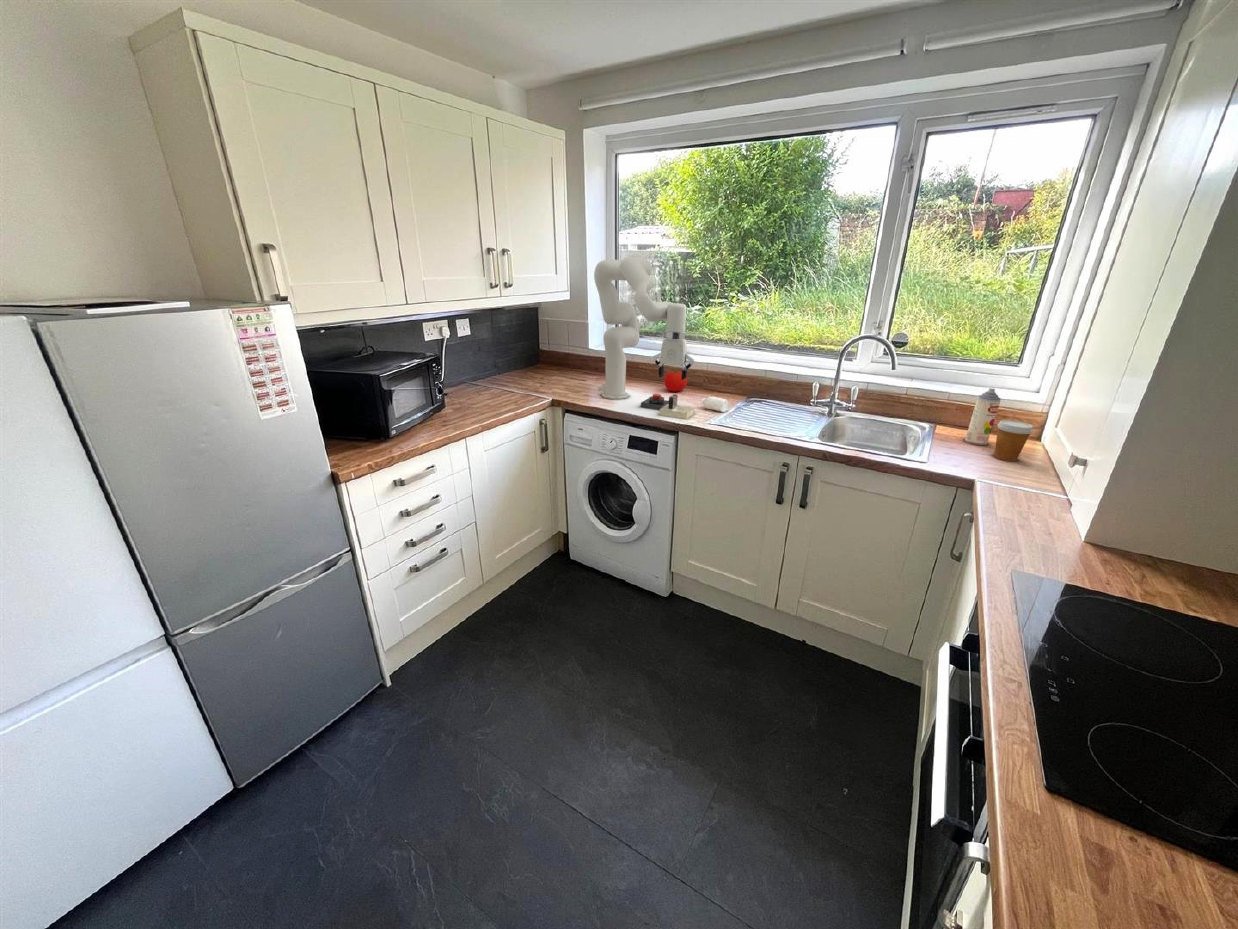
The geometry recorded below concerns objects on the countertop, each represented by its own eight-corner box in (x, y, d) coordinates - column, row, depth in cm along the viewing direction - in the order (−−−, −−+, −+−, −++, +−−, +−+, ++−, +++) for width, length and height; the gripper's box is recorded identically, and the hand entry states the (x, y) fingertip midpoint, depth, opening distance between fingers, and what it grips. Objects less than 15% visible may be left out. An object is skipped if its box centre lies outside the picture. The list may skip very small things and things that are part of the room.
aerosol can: (979, 446, 178) (996, 391, 171) (960, 440, 184) (976, 387, 177) (991, 444, 181) (1008, 390, 174) (972, 438, 187) (987, 385, 179)
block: (640, 407, 218) (641, 398, 216) (648, 402, 225) (648, 394, 224) (664, 410, 214) (664, 401, 212) (671, 405, 221) (672, 397, 220)
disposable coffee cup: (1024, 465, 161) (1036, 429, 157) (988, 459, 166) (999, 424, 162) (1020, 456, 169) (1032, 422, 165) (987, 451, 174) (997, 418, 169)
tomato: (670, 387, 256) (671, 367, 252) (690, 390, 250) (692, 370, 246) (658, 391, 247) (659, 370, 243) (678, 394, 241) (680, 373, 237)
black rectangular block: (672, 409, 206) (673, 396, 204) (668, 408, 207) (669, 396, 205) (677, 406, 211) (677, 394, 209) (673, 405, 211) (673, 393, 209)
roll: (703, 405, 223) (704, 393, 221) (727, 410, 216) (729, 397, 214) (696, 408, 219) (697, 395, 217) (721, 413, 212) (722, 400, 210)
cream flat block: (657, 414, 207) (657, 408, 206) (665, 409, 216) (666, 403, 215) (686, 419, 202) (687, 412, 201) (694, 413, 211) (694, 407, 210)
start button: (651, 399, 217) (651, 395, 217) (654, 397, 220) (654, 393, 220) (659, 400, 216) (659, 396, 215) (661, 398, 219) (662, 394, 218)
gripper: (651, 334, 199) (649, 377, 206) (692, 338, 193) (689, 382, 199) (658, 333, 206) (656, 374, 212) (698, 336, 199) (695, 378, 205)
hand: (672, 378), depth 206 cm, fingers open, 9 cm apart
